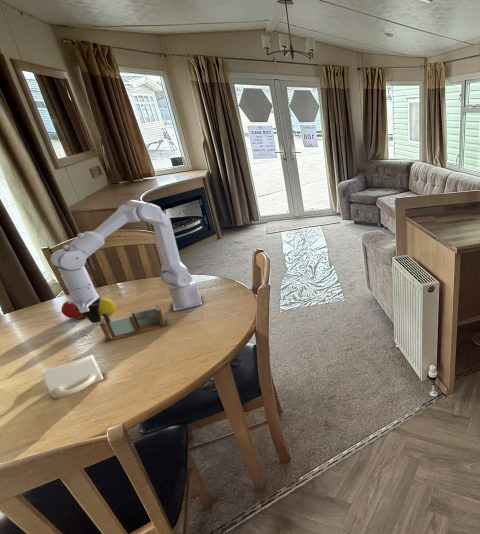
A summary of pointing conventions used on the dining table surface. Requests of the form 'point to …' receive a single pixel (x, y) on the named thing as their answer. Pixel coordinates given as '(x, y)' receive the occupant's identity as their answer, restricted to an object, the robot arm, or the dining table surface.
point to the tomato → (71, 311)
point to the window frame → (139, 323)
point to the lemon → (106, 306)
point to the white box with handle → (72, 376)
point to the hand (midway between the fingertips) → (96, 321)
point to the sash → (120, 325)
